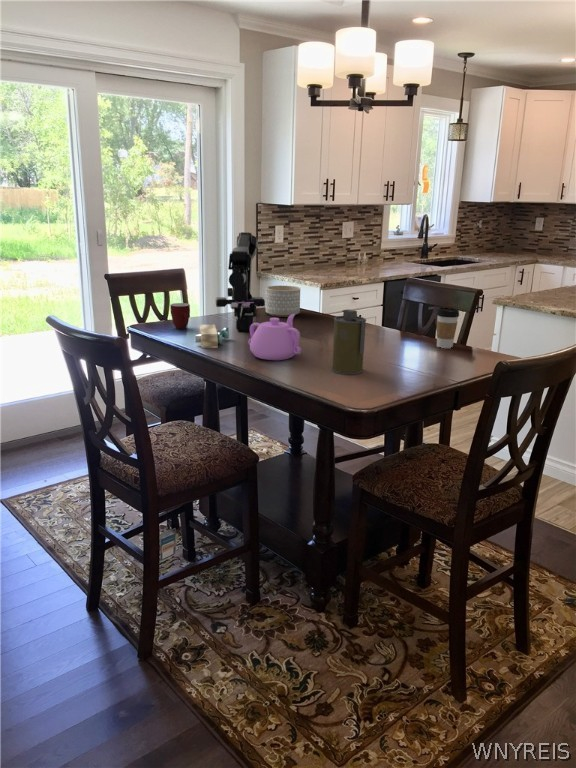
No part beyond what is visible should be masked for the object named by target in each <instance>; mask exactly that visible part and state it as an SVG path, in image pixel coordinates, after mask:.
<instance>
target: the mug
mask: <svg viewBox="0 0 576 768" xmlns="http://www.w3.org/2000/svg"><path fill="white" fill-rule="evenodd" d="M169 305H170V310H169V311H170V315H171V320H172V323H173V325H174V327H175V329H178V330H183V329H186V327H187V326H188V323H189V319H190V313H191V305H190V303H185V302H176V303H171V304H169Z"/></svg>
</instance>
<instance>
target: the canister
mask: <svg viewBox="0 0 576 768" xmlns="http://www.w3.org/2000/svg"><path fill="white" fill-rule="evenodd" d="M333 321H334V322H333V342H332V343H333V346H332V347H333V348H332V365H331V371H332V372H333V373H336V374H338V375H339V374H341V375H349V376H351V375H352V376H353V375H359V374H362V373H363V371H364V369H363V368H364V366H363V365H364V354H365V340H366V338H365V336H366V322H367V319H366V318H365V317H362V316H358V311H357V310H355V309H348V308H347V309H343V310H342V315H338V316H334V318H333Z"/></svg>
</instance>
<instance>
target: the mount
mask: <svg viewBox="0 0 576 768" xmlns="http://www.w3.org/2000/svg"><path fill="white" fill-rule="evenodd" d="M198 326H199V335H201V342H200V346H201V347H202V348H201V349H214V348H215V349H218V347H219V345H218V334H217V331H216V330H217V328H216V324H199V325H198Z"/></svg>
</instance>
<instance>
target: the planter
mask: <svg viewBox="0 0 576 768" xmlns="http://www.w3.org/2000/svg"><path fill="white" fill-rule="evenodd" d="M300 309H301V287H299V286H295V285H282V284H281V285H269V286H266V287H265V313H267V314H268V315H269V316H271V317H275V318H288V317H289V316H290V315H291V314H295V315H294V317H295V316H297V315H298V314H300V312H301V311H300Z"/></svg>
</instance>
